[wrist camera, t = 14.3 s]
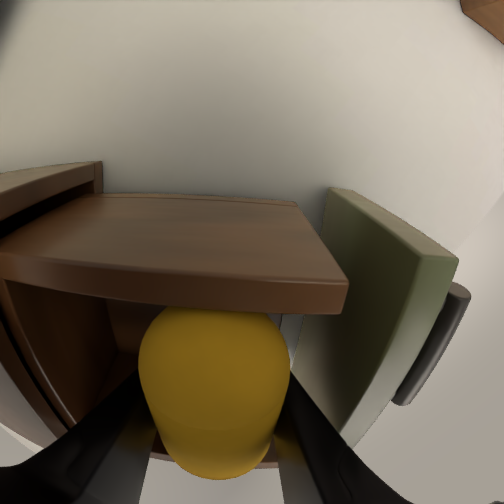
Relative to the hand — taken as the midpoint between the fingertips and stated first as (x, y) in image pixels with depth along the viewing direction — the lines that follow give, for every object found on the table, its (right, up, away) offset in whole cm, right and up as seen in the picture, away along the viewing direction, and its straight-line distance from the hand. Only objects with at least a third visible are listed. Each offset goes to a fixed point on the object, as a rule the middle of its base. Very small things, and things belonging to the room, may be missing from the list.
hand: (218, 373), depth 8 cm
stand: (+16, +20, -2) cm, 26 cm away
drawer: (+1, +2, +5) cm, 5 cm away
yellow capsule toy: (0, 0, 0) cm, 1 cm away
